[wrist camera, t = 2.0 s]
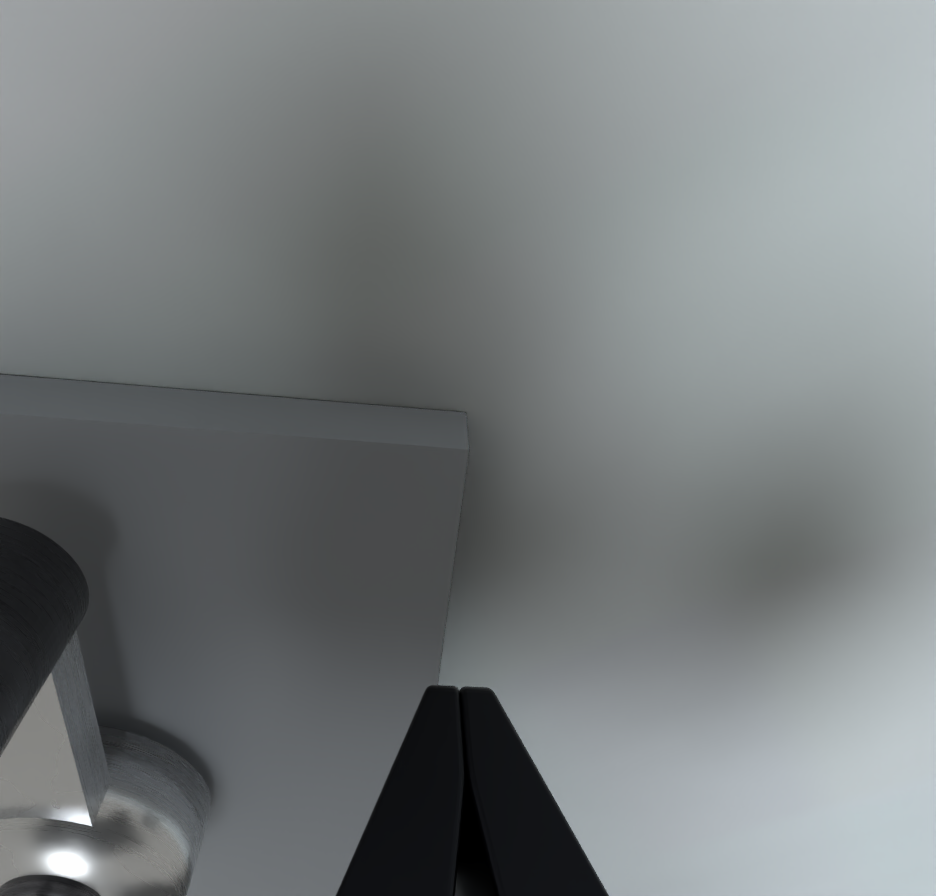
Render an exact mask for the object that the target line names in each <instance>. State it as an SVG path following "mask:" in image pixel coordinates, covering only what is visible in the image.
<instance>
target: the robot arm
mask: <svg viewBox="0 0 936 896" xmlns="http://www.w3.org/2000/svg"><path fill="white" fill-rule="evenodd" d="M336 896H609V895H608V893H607V892H606V890H605V888H604V886H603V884H602V883H601V881H600V879H599V877H598V876H597V874H596V872H595V870H594V868H593V867H592V865H591V863H590V861H589V860H588V858H587V856H586V854H585V852H584V851H583V849H582V847H581V845H580V844H579V842H578V840H577V838H576V837H575V835H574V833H573V831H572V829H571V828H570V826H569V824H568V822H567V821H566V819H565V817H564V815H563V813H562V812H561V810H560V808H559V806H558V805H557V803H556V801H555V799H554V798H553V796H552V794H551V792H550V790H549V789H548V787H547V785H546V783H545V782H544V780H543V778H542V776H541V774H540V773H539V771H538V769H537V767H536V766H535V764H534V762H533V760H532V759H531V757H530V755H529V753H528V751H527V750H526V748H525V746H524V744H523V743H522V741H521V739H520V737H519V735H518V734H517V732H516V730H515V728H514V727H513V725H512V723H511V721H510V719H509V718H508V716H507V714H506V712H505V711H504V709H503V707H502V705H501V704H500V702H499V700H498V698H497V696H496V695H495V693H494V692H493V691H492V690H491V689H490V688H486V687H463V688H461V689H460V691H459V690H458V688H456V687H455V686H441V685H430V686H428V687H427V688H426V690H425V692H424V694H423V696H422V698H421V701H420V703H419V705H418V708H417V710H416V712H415V714H414V717H413V719H412V721H411V724H410V726H409V728H408V731H407V733H406V735H405V737H404V740H403V742H402V744H401V747H400V749H399V751H398V754H397V756H396V758H395V760H394V763H393V765H392V767H391V770H390V772H389V774H388V777H387V779H386V781H385V783H384V786H383V788H382V790H381V793H380V795H379V797H378V800H377V802H376V804H375V806H374V809H373V811H372V813H371V816H370V818H369V820H368V823H367V825H366V827H365V829H364V832H363V834H362V836H361V839H360V841H359V843H358V846H357V848H356V850H355V852H354V855H353V857H352V859H351V862H350V864H349V866H348V869H347V871H346V873H345V875H344V878H343V880H342V882H341V885H340V887H339V889H338V892H337V894H336Z"/></svg>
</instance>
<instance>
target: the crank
mask: <svg viewBox="0 0 936 896" xmlns="http://www.w3.org/2000/svg"><path fill="white" fill-rule="evenodd" d="M88 605H89V589H88V585H87V582H86V579H85V577H84V575H83V572H82V571H81V569H80V567H79V566H78V564H77V563H76V562H75V560H74V559H73V558H72V557H71V556H70V555H69V554H68V553H67V552H66V551H65V550H64V549H63V548H62V547H61V546H60V545H58V544H57V543H56V542H54V541H53V540H52V539H50V538H49V537H47V536H46V535H44V534H42V533H41V532H39V531H37V530H35V529H33V528H31V527H29V526H26V525H24V524H21V523H19V522H16V521H13V520H9V519H6V518H2V517H0V896H187V894H188V890H189V887H190V883H191V880H192V876H193V873H194V869H195V866H196V862H197V859H198V855H199V851H200V848H201V844H202V841H203V837H204V834H205V830H206V827H207V823H208V820H209V816H210V812H211V808H212V802H211V795H210V791H209V788H208V786H207V784H206V782H205V780H204V779H203V777H202V776H201V774H200V773H199V772H198V771H197V770H196V769H195V767H194V766H193V765H192V764H191V763H189V762H188V761H187V760H186V759H185V758H183V757H182V756H181V755H179V754H178V753H176V752H175V751H173V750H172V749H170V748H168V747H166V746H164V745H163V744H161V743H159V742H157V741H154V740H152V739H150V738H147V737H145V736H142V735H139V734H136V733H133V732H130V731H126V730H122V729H117V728H113V727H107V726H101V725H98V722H97V718H96V713H95V709H94V705H93V700H92V696H91V692H90V687H89V683H88V679H87V674H86V670H85V666H84V661H83V657H82V653H81V648H80V644H79V640H78V635H77V631H76V630H77V628H78V626H79V625H80V623H81V621H82V620H83V618H84V616H85V614H86V612H87V609H88Z"/></svg>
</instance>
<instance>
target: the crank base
mask: <svg viewBox="0 0 936 896" xmlns="http://www.w3.org/2000/svg"><path fill="white" fill-rule="evenodd" d="M468 455H469V440H468V429H467V417H466V412H454V411H441V410H429V409H417V408H405V407H393V406H380V405H368V404H356V403H344V402H331V401H319V400H307V399H295V398H283V397H270V396H258V395H246V394H234V393H222V392H209V391H197V390H185V389H173V388H161V387H148V386H136V385H124V384H112V383H100V382H87V381H75V380H63V379H51V378H39V377H26V376H14V375H2V374H0V517H2V518H6V519H9V520H13V521H16V522H19V523H21V524H24V525H26V526H29V527H31V528H33V529H35V530H37V531H39V532H41V533H42V534H44V535H46V536H47V537H49V538H50V539H52V540H53V541H54V542H56V543H57V544H58V545H60V546H61V547H62V548H63V549H64V550H65V551H66V552H67V553H68V554H69V555H70V556H71V557H72V558H73V559H74V560H75V562H76V563H77V564H78V566H79V567H80V569H81V571H82V572H83V575H84V577H85V579H86V582H87V585H88V589H89V605H88V609H87V612H86V614H85V616H84V618H83V620H82V621H81V623H80V625H79V626H78V628H77V630H76V631H77V635H78V640H79V644H80V648H81V653H82V657H83V661H84V666H85V670H86V674H87V679H88V683H89V687H90V692H91V696H92V700H93V705H94V709H95V713H96V718H97V722H98V725H101V726H107V727H113V728H117V729H122V730H126V731H130V732H133V733H136V734H139V735H142V736H145V737H147V738H150V739H152V740H154V741H157V742H159V743H161V744H163V745H164V746H166V747H168V748H170V749H172V750H173V751H175V752H176V753H178V754H179V755H181V756H182V757H183V758H185V759H186V760H187V761H188V762H189V763H191V764H192V765H193V766H194V767H195V769H196V770H197V771H198V772H199V773H200V774H201V776H202V777H203V779H204V780H205V782H206V784H207V786H208V788H209V791H210V795H211V802H212V808H211V812H210V816H209V820H208V823H207V827H206V830H205V834H204V837H203V841H202V844H201V848H200V851H199V855H198V859H197V862H196V866H195V869H194V873H193V876H192V880H191V883H190V887H189V890H188V894H187V896H336V894H337V892H338V889H339V887H340V885H341V882H342V880H343V878H344V875H345V873H346V871H347V869H348V866H349V864H350V862H351V859H352V857H353V855H354V852H355V850H356V848H357V846H358V843H359V841H360V839H361V836H362V834H363V832H364V829H365V827H366V825H367V823H368V820H369V818H370V816H371V813H372V811H373V809H374V806H375V804H376V802H377V800H378V797H379V795H380V793H381V790H382V788H383V786H384V783H385V781H386V779H387V777H388V774H389V772H390V770H391V767H392V765H393V763H394V760H395V758H396V756H397V754H398V751H399V749H400V747H401V744H402V742H403V740H404V737H405V735H406V733H407V731H408V728H409V726H410V724H411V721H412V719H413V717H414V714H415V712H416V710H417V708H418V705H419V703H420V701H421V698H422V696H423V694H424V692H425V690H426V688H427V687H428V686H430V685H438V678H439V671H440V663H441V656H442V649H443V641H444V634H445V626H446V619H447V611H448V604H449V597H450V589H451V582H452V574H453V567H454V559H455V552H456V545H457V537H458V530H459V522H460V515H461V507H462V500H463V492H464V485H465V478H466V470H467V463H468Z"/></svg>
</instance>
